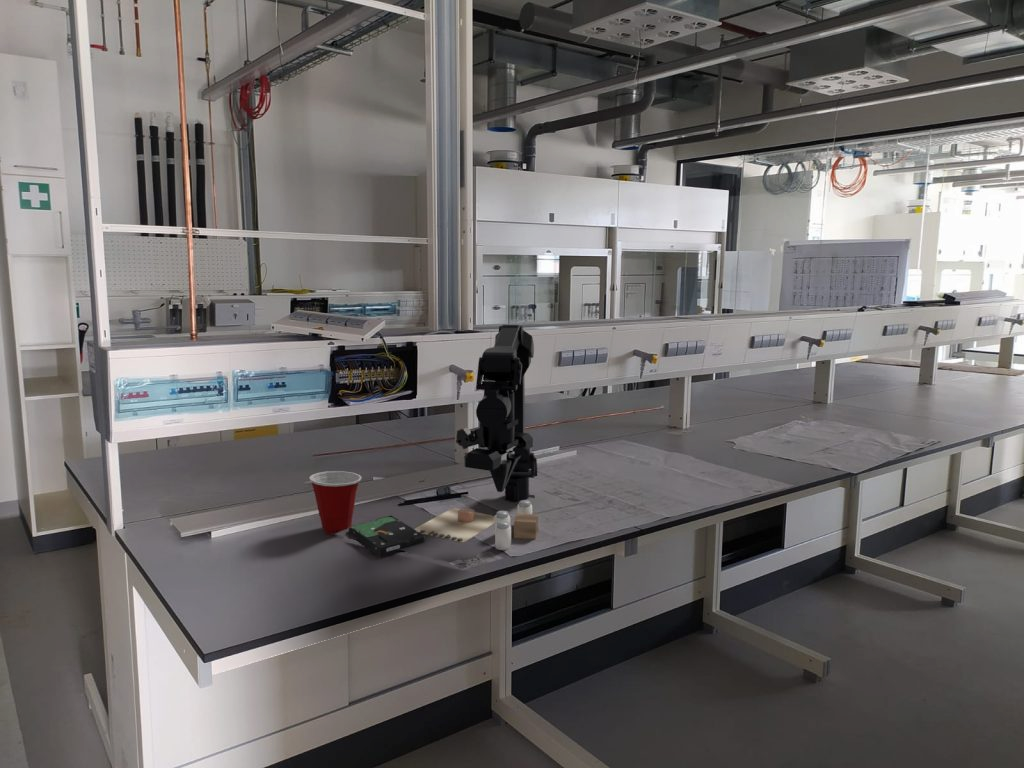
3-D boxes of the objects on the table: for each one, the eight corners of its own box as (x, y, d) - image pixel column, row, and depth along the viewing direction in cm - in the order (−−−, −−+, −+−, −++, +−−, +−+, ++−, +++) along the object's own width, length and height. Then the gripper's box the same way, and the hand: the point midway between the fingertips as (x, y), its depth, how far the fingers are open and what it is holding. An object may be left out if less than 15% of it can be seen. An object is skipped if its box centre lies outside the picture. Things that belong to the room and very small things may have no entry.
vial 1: (499, 535, 152) (499, 508, 151) (513, 538, 150) (512, 511, 149) (491, 540, 149) (491, 513, 148) (505, 543, 147) (505, 516, 146)
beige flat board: (452, 511, 166) (452, 507, 166) (502, 521, 160) (502, 516, 159) (410, 534, 152) (410, 529, 152) (463, 546, 146) (463, 541, 146)
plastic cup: (372, 531, 154) (369, 477, 152) (323, 542, 148) (320, 486, 146) (351, 516, 163) (349, 465, 161) (304, 526, 157) (301, 473, 154)
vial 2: (500, 546, 146) (500, 519, 145) (514, 549, 144) (514, 521, 143) (492, 551, 143) (491, 524, 142) (506, 555, 142) (506, 527, 140)
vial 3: (521, 523, 158) (521, 498, 157) (534, 526, 156) (534, 500, 155) (514, 528, 155) (514, 502, 154) (527, 531, 154) (528, 505, 153)
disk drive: (426, 548, 147) (391, 526, 158) (426, 535, 146) (391, 514, 158) (380, 561, 140) (347, 537, 152) (380, 547, 140) (347, 524, 151)
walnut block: (517, 533, 153) (517, 513, 152) (538, 534, 152) (538, 514, 151) (514, 541, 148) (513, 521, 147) (535, 543, 148) (535, 522, 147)
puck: (463, 515, 161) (463, 507, 160) (477, 518, 159) (477, 510, 159) (454, 521, 157) (454, 512, 157) (468, 523, 156) (468, 515, 155)
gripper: (486, 402, 152) (486, 473, 155) (439, 421, 136) (441, 500, 139) (533, 407, 147) (533, 480, 150) (491, 427, 131) (492, 508, 134)
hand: (500, 491), depth 143 cm, fingers closed
